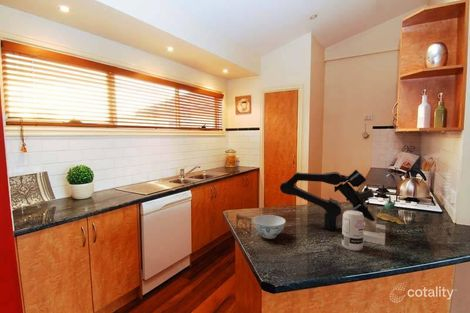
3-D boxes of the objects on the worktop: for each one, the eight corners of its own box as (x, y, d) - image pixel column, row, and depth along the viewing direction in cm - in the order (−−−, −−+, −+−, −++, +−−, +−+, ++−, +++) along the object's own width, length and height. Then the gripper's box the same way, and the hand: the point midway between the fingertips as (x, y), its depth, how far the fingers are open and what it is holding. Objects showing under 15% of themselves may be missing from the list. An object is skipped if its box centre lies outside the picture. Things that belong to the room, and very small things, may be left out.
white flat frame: (354, 239, 114) (354, 232, 114) (358, 226, 130) (358, 220, 129) (384, 245, 108) (385, 237, 108) (385, 231, 123) (385, 224, 123)
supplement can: (344, 241, 112) (346, 208, 111) (364, 246, 107) (366, 212, 106) (339, 247, 106) (340, 213, 105) (360, 253, 101) (361, 217, 99)
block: (364, 232, 118) (365, 207, 117) (365, 229, 122) (366, 204, 121) (375, 234, 116) (376, 208, 115) (375, 231, 120) (377, 206, 118)
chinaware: (260, 244, 109) (260, 227, 109) (249, 231, 124) (249, 216, 123) (291, 240, 113) (291, 223, 113) (276, 228, 128) (277, 213, 127)
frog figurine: (378, 213, 152) (382, 190, 149) (408, 226, 135) (413, 200, 133) (367, 215, 148) (370, 191, 145) (396, 229, 132) (401, 202, 129)
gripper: (361, 186, 111) (389, 215, 106) (364, 179, 127) (389, 204, 122) (341, 201, 116) (367, 229, 111) (347, 193, 132) (369, 217, 127)
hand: (374, 219), depth 118 cm, fingers closed on block, 4 cm apart
